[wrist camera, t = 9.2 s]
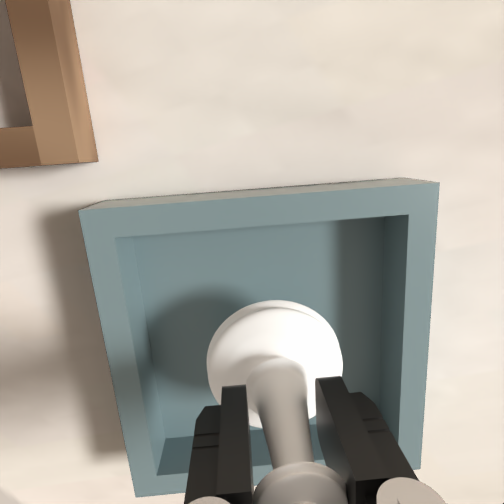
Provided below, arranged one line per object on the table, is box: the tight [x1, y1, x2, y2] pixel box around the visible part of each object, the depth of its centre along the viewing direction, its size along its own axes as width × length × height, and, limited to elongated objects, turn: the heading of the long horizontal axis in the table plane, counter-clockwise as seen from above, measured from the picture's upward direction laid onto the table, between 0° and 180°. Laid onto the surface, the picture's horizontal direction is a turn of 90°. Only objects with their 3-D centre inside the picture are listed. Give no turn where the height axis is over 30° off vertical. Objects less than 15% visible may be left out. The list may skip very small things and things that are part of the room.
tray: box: [78, 178, 440, 497], centre depth 15 cm, size 12×12×3 cm
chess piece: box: [207, 300, 348, 504], centre depth 8 cm, size 5×5×10 cm
